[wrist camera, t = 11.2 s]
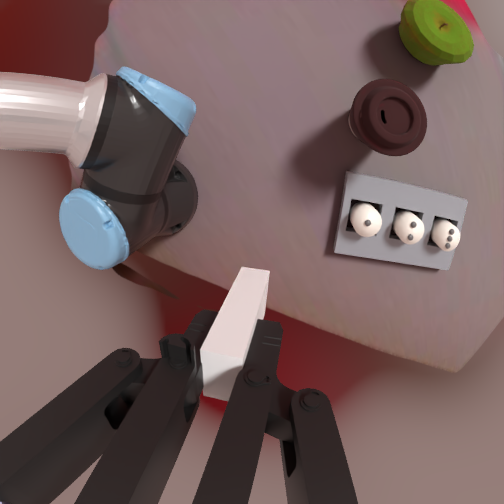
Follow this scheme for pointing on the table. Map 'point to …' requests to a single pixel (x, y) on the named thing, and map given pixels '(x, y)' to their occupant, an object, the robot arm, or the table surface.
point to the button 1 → (365, 219)
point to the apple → (434, 33)
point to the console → (388, 199)
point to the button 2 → (408, 227)
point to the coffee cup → (388, 117)
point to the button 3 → (445, 234)
